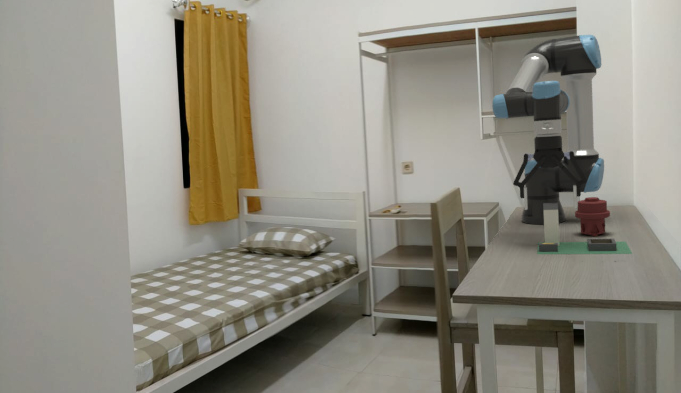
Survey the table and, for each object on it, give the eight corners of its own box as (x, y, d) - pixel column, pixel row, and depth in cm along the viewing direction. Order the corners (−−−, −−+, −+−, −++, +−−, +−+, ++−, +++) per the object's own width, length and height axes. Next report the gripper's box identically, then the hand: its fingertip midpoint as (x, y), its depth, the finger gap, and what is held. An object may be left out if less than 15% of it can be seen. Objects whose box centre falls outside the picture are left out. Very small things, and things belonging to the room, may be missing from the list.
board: (538, 245, 186) (537, 235, 185) (625, 244, 178) (625, 233, 178) (537, 257, 171) (536, 246, 170) (632, 257, 163) (632, 245, 163)
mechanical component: (606, 233, 196) (613, 239, 186) (573, 234, 198) (578, 241, 188) (605, 195, 194) (612, 199, 185) (572, 196, 196) (577, 201, 187)
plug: (545, 243, 184) (543, 203, 183) (559, 242, 183) (557, 202, 181) (544, 245, 180) (543, 205, 179) (559, 245, 179) (558, 204, 178)
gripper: (502, 138, 178) (505, 211, 181) (595, 133, 170) (597, 209, 172) (504, 138, 186) (507, 208, 188) (593, 132, 177) (595, 205, 179)
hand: (550, 208), depth 180 cm, fingers open, 13 cm apart
